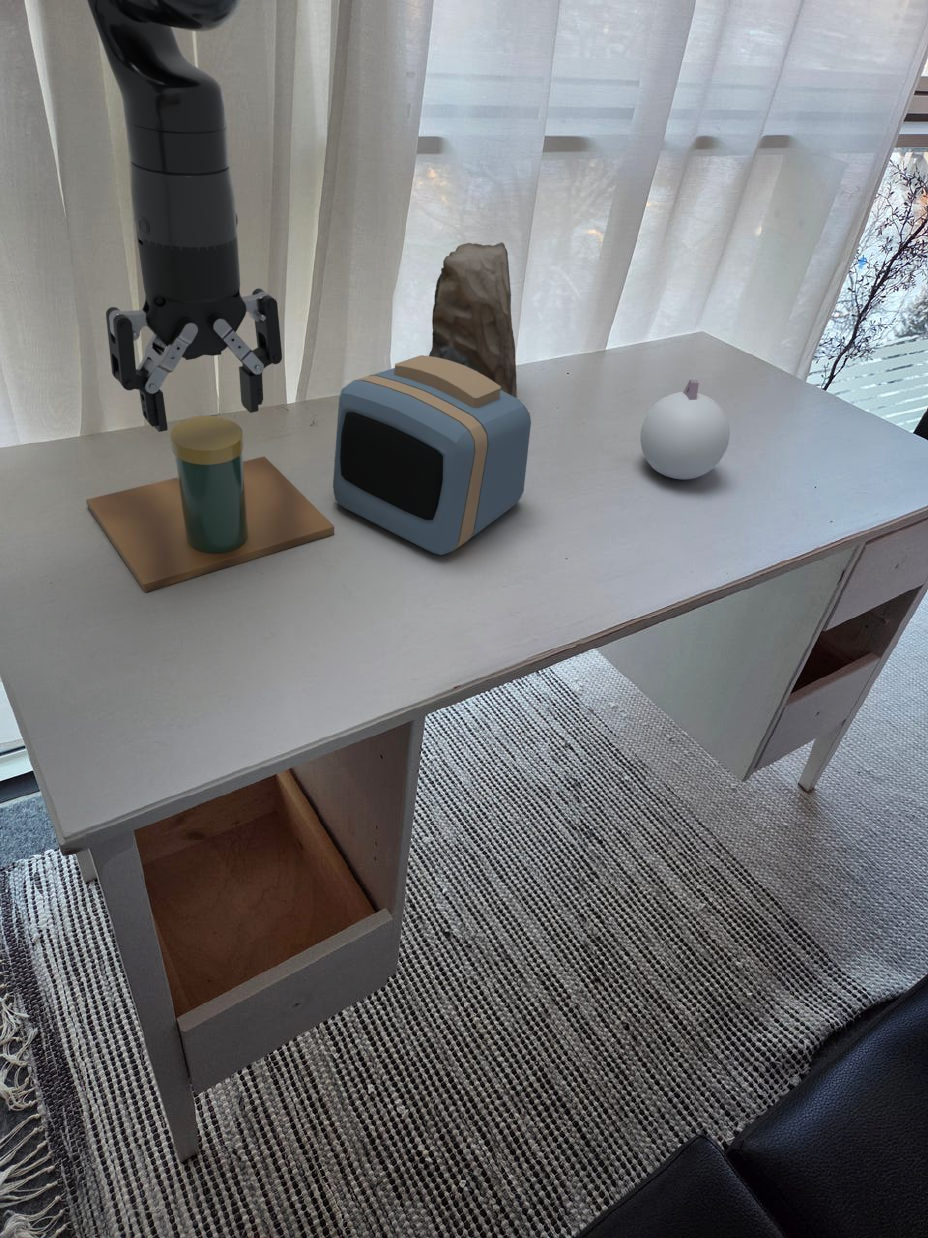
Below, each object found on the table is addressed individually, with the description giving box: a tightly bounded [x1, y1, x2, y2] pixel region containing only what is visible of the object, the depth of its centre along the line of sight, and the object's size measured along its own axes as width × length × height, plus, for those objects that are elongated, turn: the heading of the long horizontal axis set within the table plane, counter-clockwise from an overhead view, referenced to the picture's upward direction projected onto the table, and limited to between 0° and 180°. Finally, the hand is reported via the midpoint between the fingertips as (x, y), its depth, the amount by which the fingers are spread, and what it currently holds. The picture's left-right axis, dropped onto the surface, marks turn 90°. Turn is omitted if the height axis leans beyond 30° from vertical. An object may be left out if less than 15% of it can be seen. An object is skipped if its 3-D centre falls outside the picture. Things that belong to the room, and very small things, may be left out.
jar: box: [169, 415, 248, 554], centre depth 80 cm, size 6×6×12 cm
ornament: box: [639, 379, 731, 480], centre depth 102 cm, size 10×10×12 cm
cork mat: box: [85, 456, 335, 593], centre depth 87 cm, size 20×16×1 cm
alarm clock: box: [332, 354, 532, 556], centre depth 89 cm, size 16×16×16 cm
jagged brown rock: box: [428, 241, 518, 399], centre depth 107 cm, size 13×13×20 cm
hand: (205, 417), depth 75 cm, fingers open, 8 cm apart
